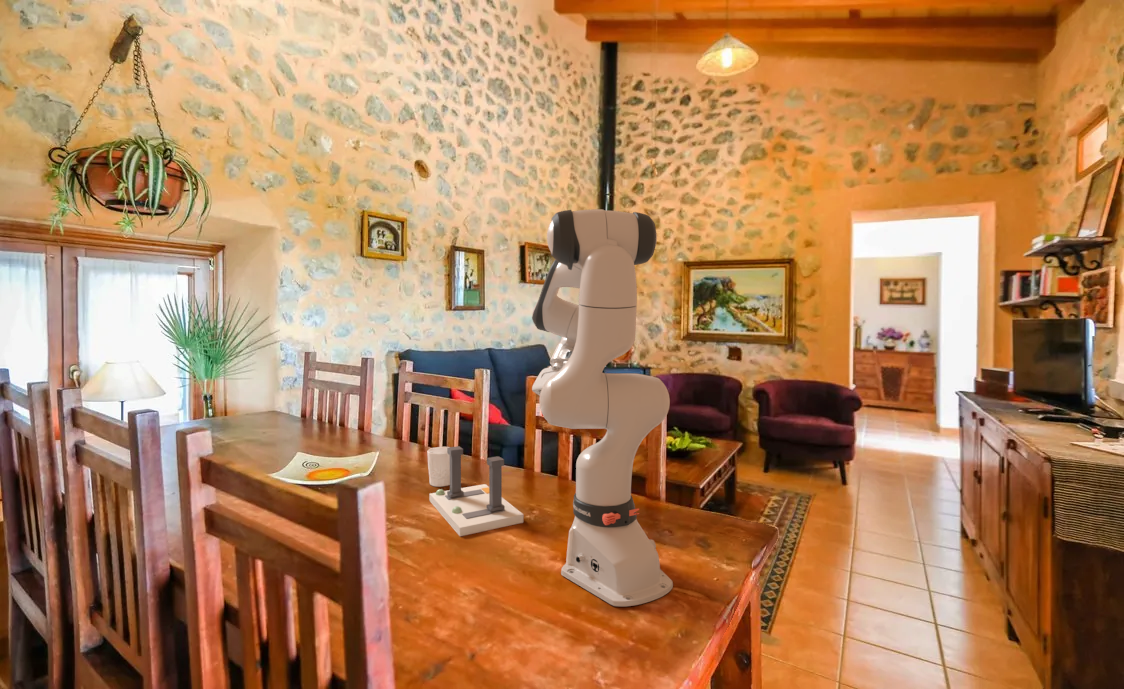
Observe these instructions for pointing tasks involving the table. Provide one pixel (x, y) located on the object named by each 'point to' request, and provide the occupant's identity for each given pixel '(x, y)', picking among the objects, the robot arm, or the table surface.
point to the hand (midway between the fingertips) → (546, 405)
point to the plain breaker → (495, 483)
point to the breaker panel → (473, 510)
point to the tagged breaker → (455, 471)
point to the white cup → (439, 466)
